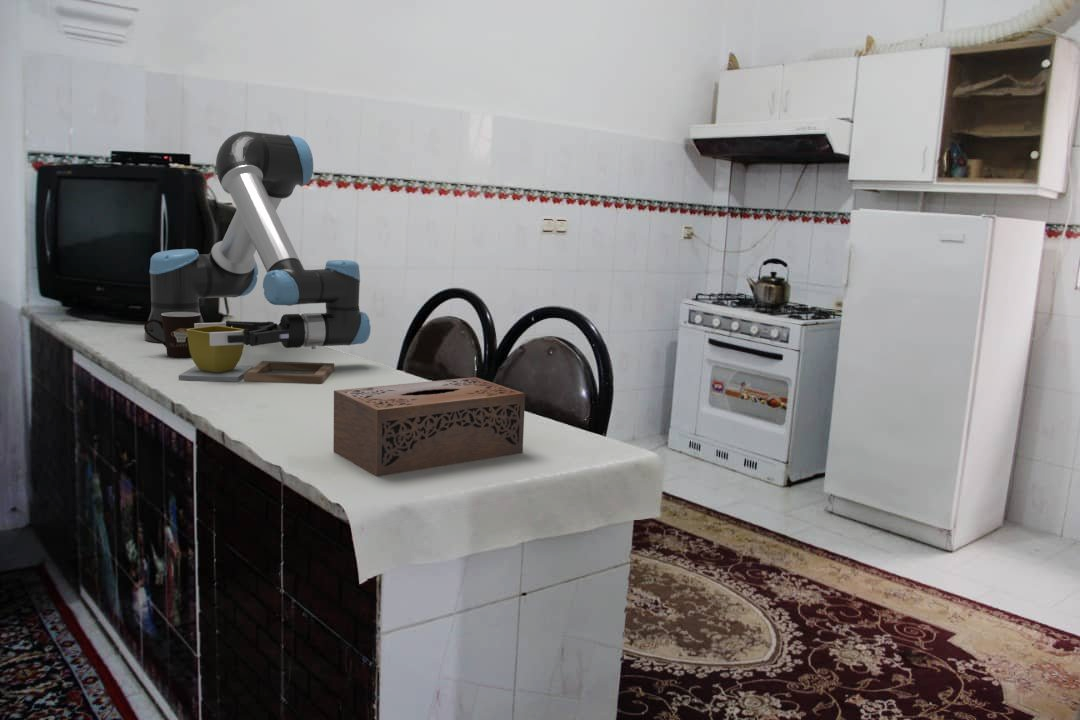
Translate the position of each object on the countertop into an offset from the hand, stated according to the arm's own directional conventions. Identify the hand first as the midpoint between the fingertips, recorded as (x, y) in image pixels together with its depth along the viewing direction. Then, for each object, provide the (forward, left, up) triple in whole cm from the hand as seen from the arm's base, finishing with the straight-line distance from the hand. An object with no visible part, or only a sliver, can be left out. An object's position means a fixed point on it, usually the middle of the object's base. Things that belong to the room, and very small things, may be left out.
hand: (202, 334), depth 187 cm
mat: (-1, +2, -9) cm, 9 cm away
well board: (-4, +17, -9) cm, 20 cm away
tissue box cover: (+53, +51, -10) cm, 75 cm away
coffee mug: (-23, -13, -9) cm, 29 cm away
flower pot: (-2, +2, -8) cm, 9 cm away
